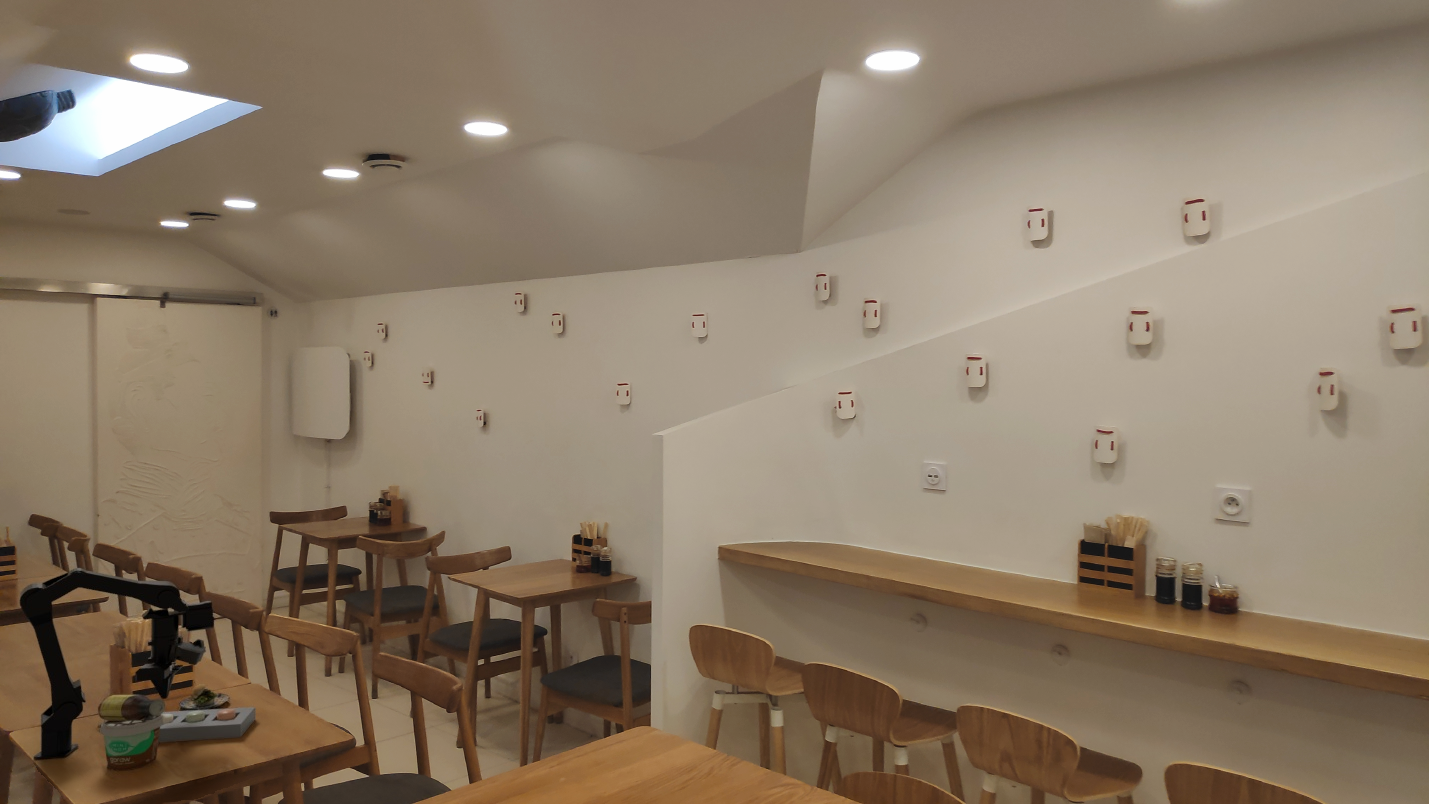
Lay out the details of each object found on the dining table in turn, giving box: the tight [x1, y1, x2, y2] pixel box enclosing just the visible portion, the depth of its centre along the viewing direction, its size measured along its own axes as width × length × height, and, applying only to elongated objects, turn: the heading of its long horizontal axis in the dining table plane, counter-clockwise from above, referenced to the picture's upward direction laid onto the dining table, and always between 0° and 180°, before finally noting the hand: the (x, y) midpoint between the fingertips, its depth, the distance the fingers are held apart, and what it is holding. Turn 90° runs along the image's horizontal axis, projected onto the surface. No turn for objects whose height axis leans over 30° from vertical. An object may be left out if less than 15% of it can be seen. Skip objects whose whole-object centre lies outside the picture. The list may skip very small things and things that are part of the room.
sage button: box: [186, 711, 205, 722], centre depth 218 cm, size 4×4×3 cm
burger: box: [178, 680, 231, 711], centre depth 236 cm, size 12×12×8 cm
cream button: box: [154, 714, 173, 723], centre depth 217 cm, size 4×4×3 cm
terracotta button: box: [217, 708, 235, 720], centre depth 220 cm, size 4×4×3 cm
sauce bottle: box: [97, 694, 166, 722], centre depth 221 cm, size 6×6×20 cm
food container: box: [99, 715, 164, 772], centre depth 197 cm, size 12×6×10 cm, turn 105°
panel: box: [142, 706, 256, 743], centre depth 218 cm, size 12×24×3 cm, turn 102°
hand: (164, 698), depth 217 cm, fingers closed
